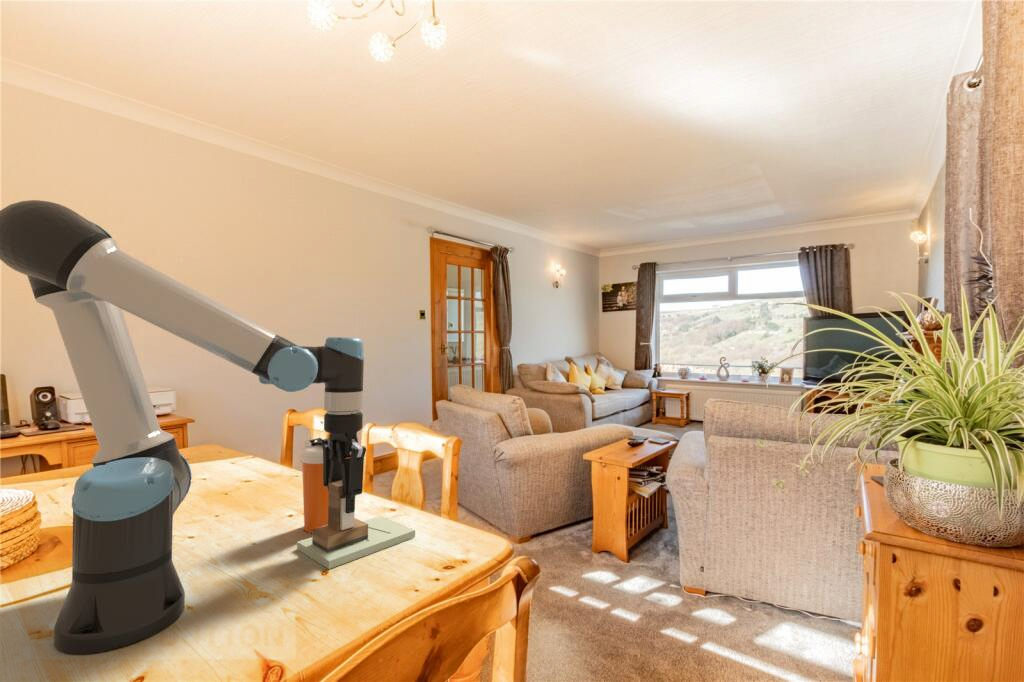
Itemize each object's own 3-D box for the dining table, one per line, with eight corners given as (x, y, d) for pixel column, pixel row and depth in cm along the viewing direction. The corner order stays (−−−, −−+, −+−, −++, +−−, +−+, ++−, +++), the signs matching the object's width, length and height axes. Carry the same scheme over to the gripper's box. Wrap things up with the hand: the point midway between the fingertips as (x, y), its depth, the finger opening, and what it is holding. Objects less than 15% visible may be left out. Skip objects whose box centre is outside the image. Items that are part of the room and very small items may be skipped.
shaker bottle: (327, 536, 104) (328, 445, 104) (291, 532, 105) (292, 443, 105) (349, 521, 112) (350, 437, 112) (315, 518, 114) (316, 435, 114)
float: (327, 552, 92) (328, 490, 92) (312, 544, 96) (313, 484, 96) (367, 538, 99) (368, 481, 99) (352, 530, 103) (352, 475, 103)
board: (329, 569, 89) (329, 560, 89) (297, 549, 97) (297, 541, 97) (415, 536, 104) (415, 529, 104) (380, 522, 112) (381, 515, 112)
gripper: (382, 414, 95) (380, 530, 95) (339, 406, 106) (337, 510, 106) (348, 418, 90) (346, 542, 89) (306, 409, 100) (304, 519, 100)
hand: (341, 524), depth 98 cm, fingers closed on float, 4 cm apart
